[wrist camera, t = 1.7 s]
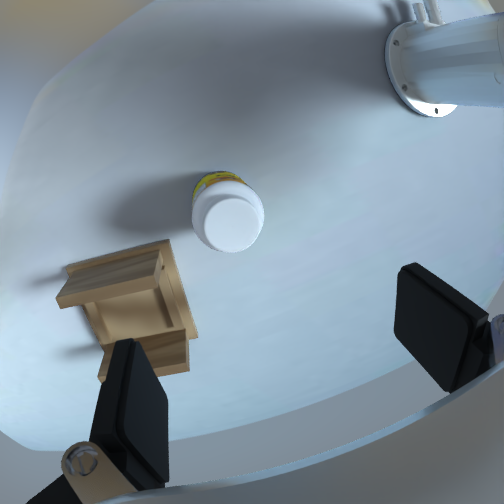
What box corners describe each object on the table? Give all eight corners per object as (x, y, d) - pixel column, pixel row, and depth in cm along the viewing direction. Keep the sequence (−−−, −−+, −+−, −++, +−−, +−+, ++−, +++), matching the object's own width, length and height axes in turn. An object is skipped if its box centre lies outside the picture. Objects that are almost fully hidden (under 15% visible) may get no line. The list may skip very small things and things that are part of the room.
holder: (68, 264, 30) (45, 295, 24) (168, 239, 31) (163, 267, 25) (107, 350, 35) (96, 388, 28) (197, 332, 36) (200, 372, 30)
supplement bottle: (258, 188, 31) (287, 213, 22) (228, 233, 32) (244, 277, 23) (211, 159, 29) (219, 170, 20) (181, 207, 30) (176, 241, 21)
